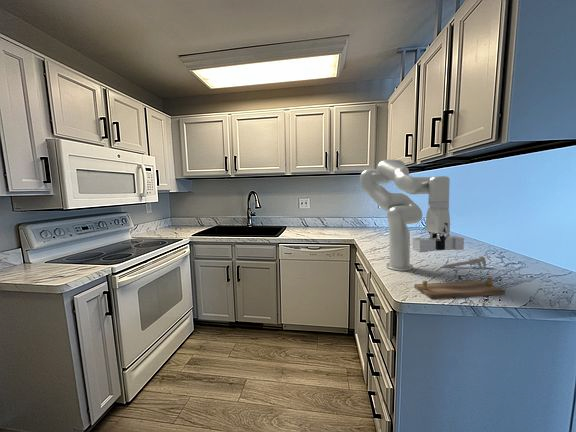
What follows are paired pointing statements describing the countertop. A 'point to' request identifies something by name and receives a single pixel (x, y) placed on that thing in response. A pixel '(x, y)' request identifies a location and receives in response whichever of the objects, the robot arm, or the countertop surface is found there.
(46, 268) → the countertop surface
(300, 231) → the countertop surface
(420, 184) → the robot arm
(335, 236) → the countertop surface
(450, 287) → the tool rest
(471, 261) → the caliper
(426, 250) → the light grey block
